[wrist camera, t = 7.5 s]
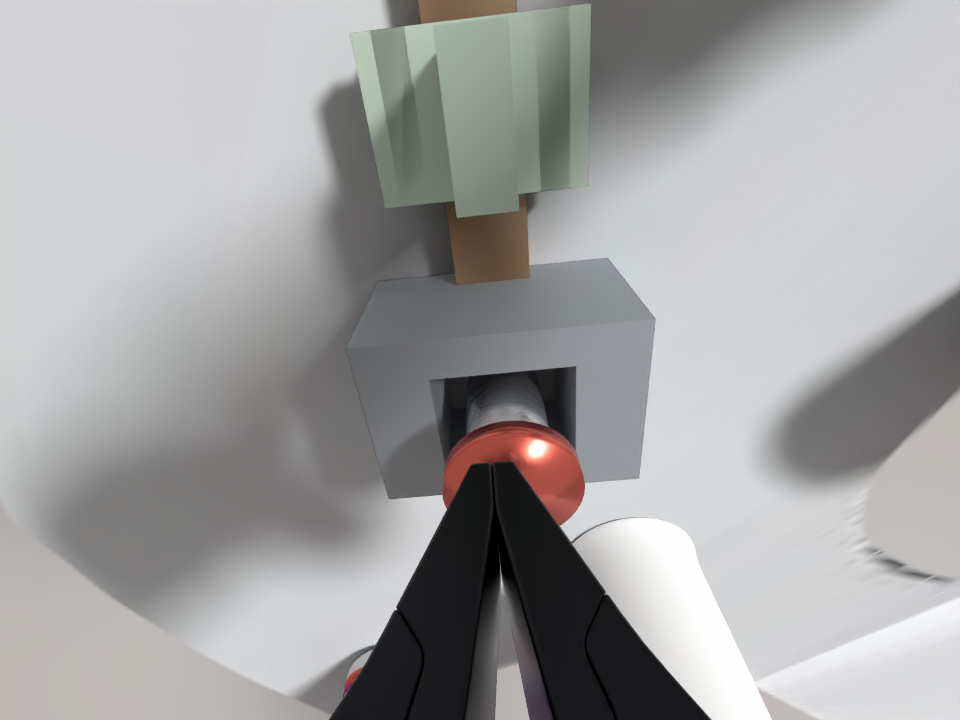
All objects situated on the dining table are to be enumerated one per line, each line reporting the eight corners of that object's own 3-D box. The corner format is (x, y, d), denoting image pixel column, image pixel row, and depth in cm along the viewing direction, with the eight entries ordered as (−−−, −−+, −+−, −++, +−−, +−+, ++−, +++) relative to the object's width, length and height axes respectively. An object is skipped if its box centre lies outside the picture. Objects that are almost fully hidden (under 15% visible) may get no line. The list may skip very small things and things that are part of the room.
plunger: (554, 335, 18) (586, 431, 13) (556, 424, 20) (583, 534, 15) (443, 346, 18) (432, 445, 13) (457, 432, 20) (452, 544, 16)
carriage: (575, 14, 15) (640, -31, 9) (574, 174, 18) (625, 219, 12) (365, 40, 16) (300, 11, 10) (394, 194, 18) (356, 247, 12)
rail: (488, -474, 11) (490, -546, 10) (526, 266, 20) (529, 277, 19) (360, -454, 11) (347, -521, 10) (457, 273, 20) (456, 285, 19)
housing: (607, 257, 20) (655, 319, 15) (602, 391, 23) (638, 478, 18) (371, 282, 20) (336, 349, 15) (401, 409, 24) (381, 499, 19)
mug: (593, 633, 35) (644, 864, 24) (504, 593, 32) (520, 834, 22) (720, 551, 30) (850, 795, 20) (630, 496, 27) (726, 745, 17)
